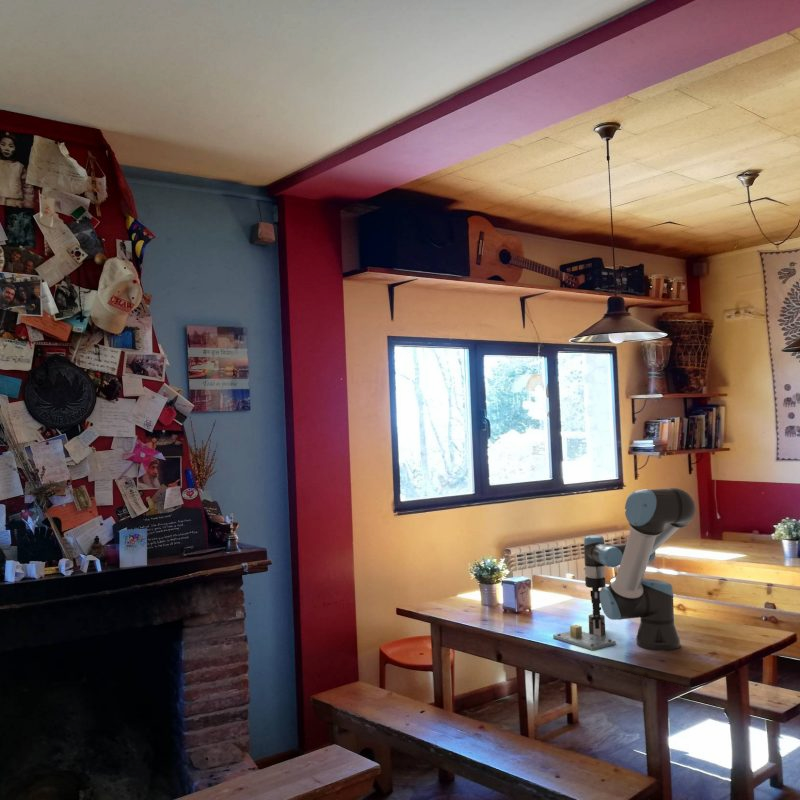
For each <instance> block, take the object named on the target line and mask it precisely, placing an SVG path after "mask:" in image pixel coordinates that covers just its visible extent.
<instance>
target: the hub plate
mask: <svg viewBox="0 0 800 800" xmlns="http://www.w3.org/2000/svg"><path fill="white" fill-rule="evenodd" d="M582 627H583V626H581V625H577V624H575V625H574V624H573V625H570V626H569V628H570V630H569V631H564V632H560V633H555V634H553V635H552V636H553V637H552V639H555V640H558V641H560V642H564V643H568V644H571V645H574V646H578V647H581V648H584V649H587V650H590V651H594V650H598V649H603V648H607V647H610V646H615V645H617V641H616V640H613V639H609V638H606V637H602V636H601V637H600V636H596V635H593V634H589V632H586V631H583V629H582Z"/></svg>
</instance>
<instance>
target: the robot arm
mask: <svg viewBox="0 0 800 800" xmlns="http://www.w3.org/2000/svg"><path fill="white" fill-rule="evenodd" d="M625 501H626V502H625V505H624V509H625V512H624V514H625V518H626V520H627V522H628V525H629V527H630V531H629V534H628V538H627V541H626V543H618V544H617V543H615V544H605V538H604V537H603V536H602V535H594V534H593V535H587V536H585V537H584V540H583V541H584V544H583V551H584V566H585V567H582V568H583V569H582V570H583V571H584V574H585V580H584V581H585V583H584V585H585V587H587V588H591V589H592V590H590V591H589V592H590V597H591V598H590V599H591V604H592V614H593V617H591V620H593V631H594V635H596V636H600V637H602V635H601V620H600V619H601V617H600V615H601V611H603V613H604V616H605V617H606V618H608V619H609V620H612V621H617V620H618V621H621V620H630V619H639V618H640V619H639V620H640V622H639V623H640V624H639V627H638V630H637V635H636V637H635V638H636V639H635V642H636V643H635V644H636V645H637V646H638V647H641V648H643V649H646V650H647V649H648V650H653V651H654V650H655V651H671V650H676V649H679V648H680V647H681V639H680V637H679V634H678V632H677V628H676V625H675V613H674V612H675V611H674V597H675V596H674V591H673V590H674V589H673V586H672V584H671V583H670V582H667V581H664V580H659V579H653V578H644V576H645V574H646V570H647V567H648V564H649V563H651V562H654V561H655V557H656V550H659V549H658V548H660V547H661V546H662V545H663V544H664V543H665V542H666V541H667V540H668V539H669V538H670V537H672V535H674V533H676V532H677V531H678V530H679V529H683V528H685V527H687V525H689V524H690V523H691V522H692V520H693V519H694V518H695V516H696V511H697V508H696V503H695V500H694V499H693V497H692V496H691V494H689V493H688V491H685V490H683V489H681V488H676V487H671V488H655V489H649V488H644V489H640V490H634V491H632V492H631V493H630V494H629V495H628V497H627V499H626V500H625ZM606 567H607V568H617V567H618V571H617V575H615V576H613V577H611V579H610V582H609V585H608V586H606V577H605V576H606Z"/></svg>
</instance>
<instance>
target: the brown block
mask: <svg viewBox="0 0 800 800" xmlns="http://www.w3.org/2000/svg"><path fill="white" fill-rule="evenodd" d="M591 617H593V613H592V614H589V615H588V633H589V634H593V635H594V631H593V620H591ZM600 617H601V619H600V620H601V636H606V620H605V619H606V615H605V614H604V615H603V614H600Z"/></svg>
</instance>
